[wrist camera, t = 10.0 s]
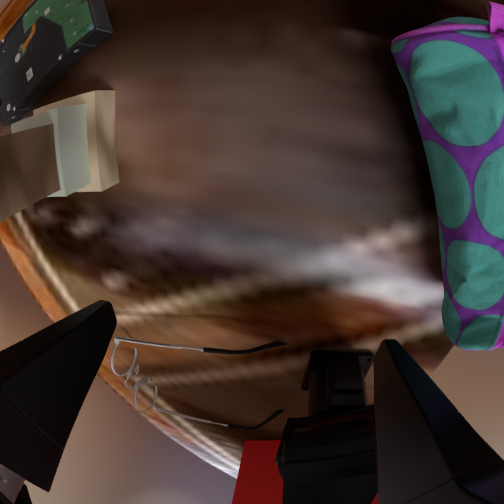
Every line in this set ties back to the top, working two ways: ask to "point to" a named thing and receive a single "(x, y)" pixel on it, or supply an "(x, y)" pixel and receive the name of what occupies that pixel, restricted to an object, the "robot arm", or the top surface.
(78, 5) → the disk drive
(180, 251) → the top surface
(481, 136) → the pencil case
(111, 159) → the tower base
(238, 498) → the book
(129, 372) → the eyeglasses
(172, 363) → the top surface
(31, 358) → the robot arm
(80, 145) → the tower top
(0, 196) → the walnut block
